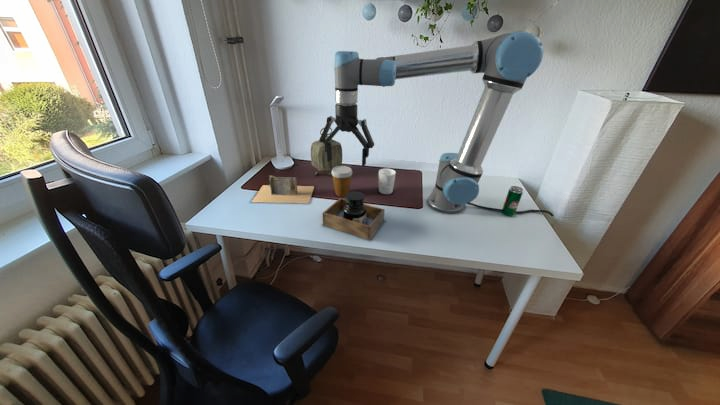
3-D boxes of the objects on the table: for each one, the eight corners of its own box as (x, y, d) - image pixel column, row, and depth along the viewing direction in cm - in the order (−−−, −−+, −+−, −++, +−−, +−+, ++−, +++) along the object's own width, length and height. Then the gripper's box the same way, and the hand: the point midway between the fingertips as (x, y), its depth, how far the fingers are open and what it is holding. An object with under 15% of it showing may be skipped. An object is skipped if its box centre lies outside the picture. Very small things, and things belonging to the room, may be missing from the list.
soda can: (507, 217, 112) (516, 191, 106) (498, 211, 116) (507, 186, 110) (517, 216, 113) (526, 190, 107) (508, 209, 117) (517, 184, 111)
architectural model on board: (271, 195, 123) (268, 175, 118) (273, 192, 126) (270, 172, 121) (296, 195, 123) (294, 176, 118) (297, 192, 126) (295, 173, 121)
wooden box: (383, 221, 107) (384, 209, 104) (369, 240, 97) (370, 227, 94) (340, 208, 115) (340, 197, 112) (323, 225, 104) (322, 213, 101)
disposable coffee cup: (343, 200, 121) (343, 175, 115) (327, 194, 125) (326, 170, 119) (356, 192, 127) (356, 169, 121) (341, 186, 132) (340, 163, 126)
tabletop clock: (334, 168, 151) (333, 123, 139) (344, 173, 145) (343, 127, 133) (312, 174, 143) (308, 127, 131) (321, 180, 137) (318, 131, 125)
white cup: (396, 193, 128) (398, 174, 123) (381, 196, 125) (383, 176, 120) (389, 186, 134) (390, 167, 129) (374, 188, 131) (375, 169, 126)
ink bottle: (358, 232, 100) (358, 204, 94) (338, 225, 104) (337, 198, 98) (370, 219, 108) (371, 193, 102) (351, 213, 111) (351, 187, 105)
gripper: (385, 104, 91) (381, 163, 102) (316, 99, 97) (319, 155, 108) (380, 108, 85) (376, 171, 96) (307, 102, 91) (311, 162, 102)
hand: (346, 162), depth 102 cm, fingers open, 13 cm apart
